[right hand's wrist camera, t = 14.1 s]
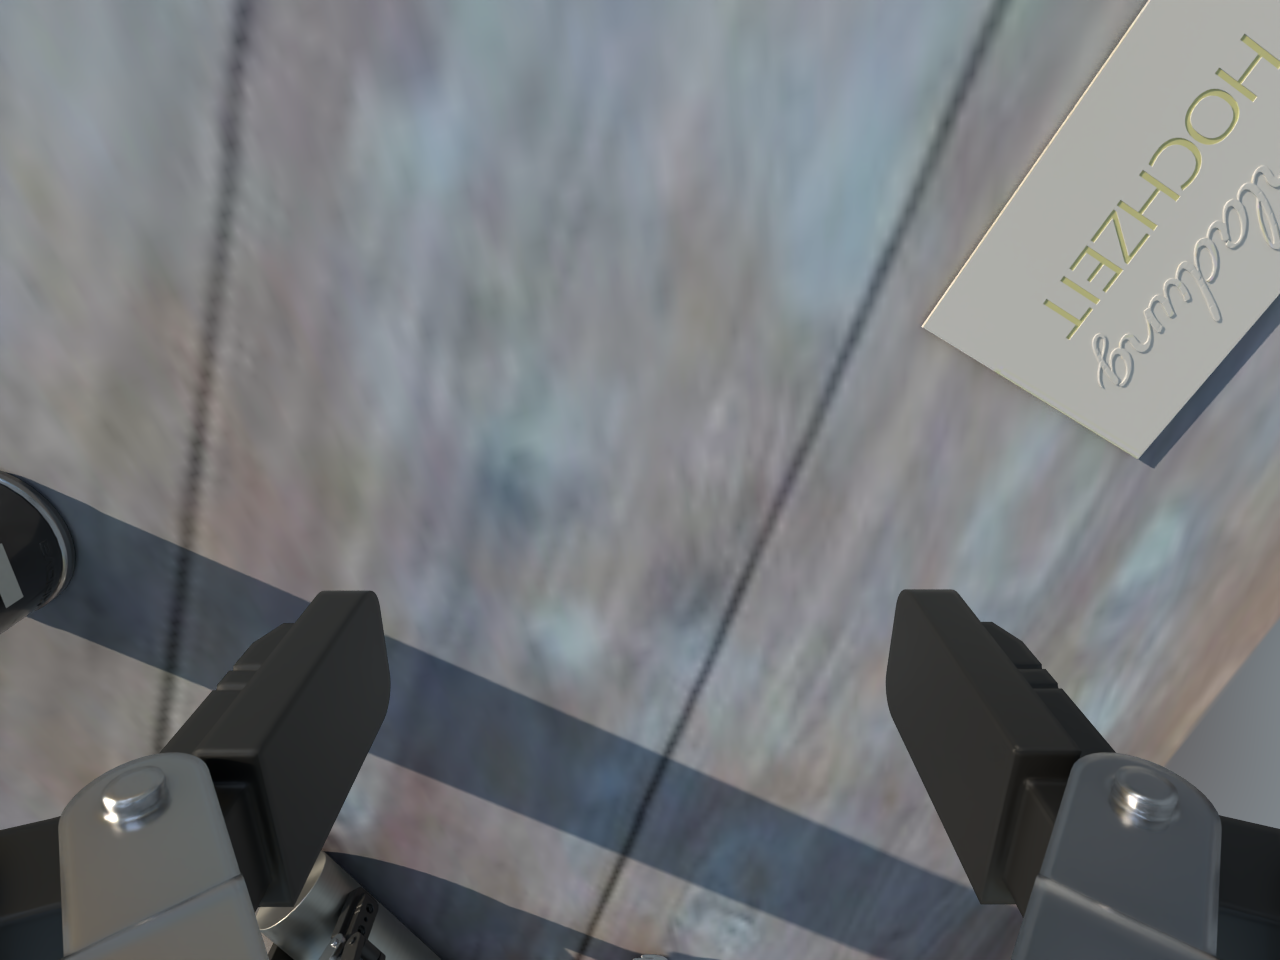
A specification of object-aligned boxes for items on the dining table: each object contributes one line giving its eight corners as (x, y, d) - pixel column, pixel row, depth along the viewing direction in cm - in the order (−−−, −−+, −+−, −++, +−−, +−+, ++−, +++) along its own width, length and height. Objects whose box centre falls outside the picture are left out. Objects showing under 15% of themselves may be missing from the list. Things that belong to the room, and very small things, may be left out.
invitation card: (1223, -104, 32) (1457, 87, 35) (1218, -101, 33) (1451, 88, 35) (923, 327, 39) (1138, 459, 42) (921, 326, 39) (1135, 457, 42)
